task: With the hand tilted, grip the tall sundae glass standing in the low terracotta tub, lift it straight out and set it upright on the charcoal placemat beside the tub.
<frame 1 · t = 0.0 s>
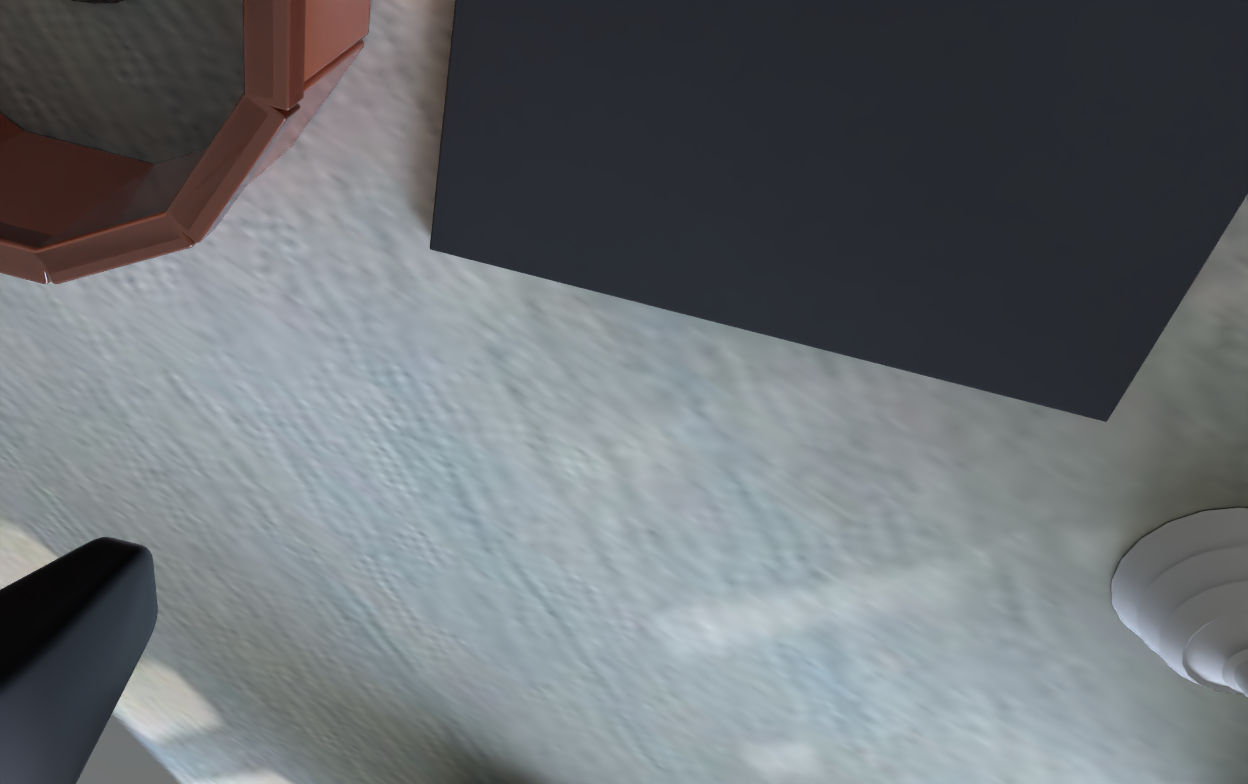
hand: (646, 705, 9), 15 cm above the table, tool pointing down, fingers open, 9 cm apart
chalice: (1215, 578, 26), on the table
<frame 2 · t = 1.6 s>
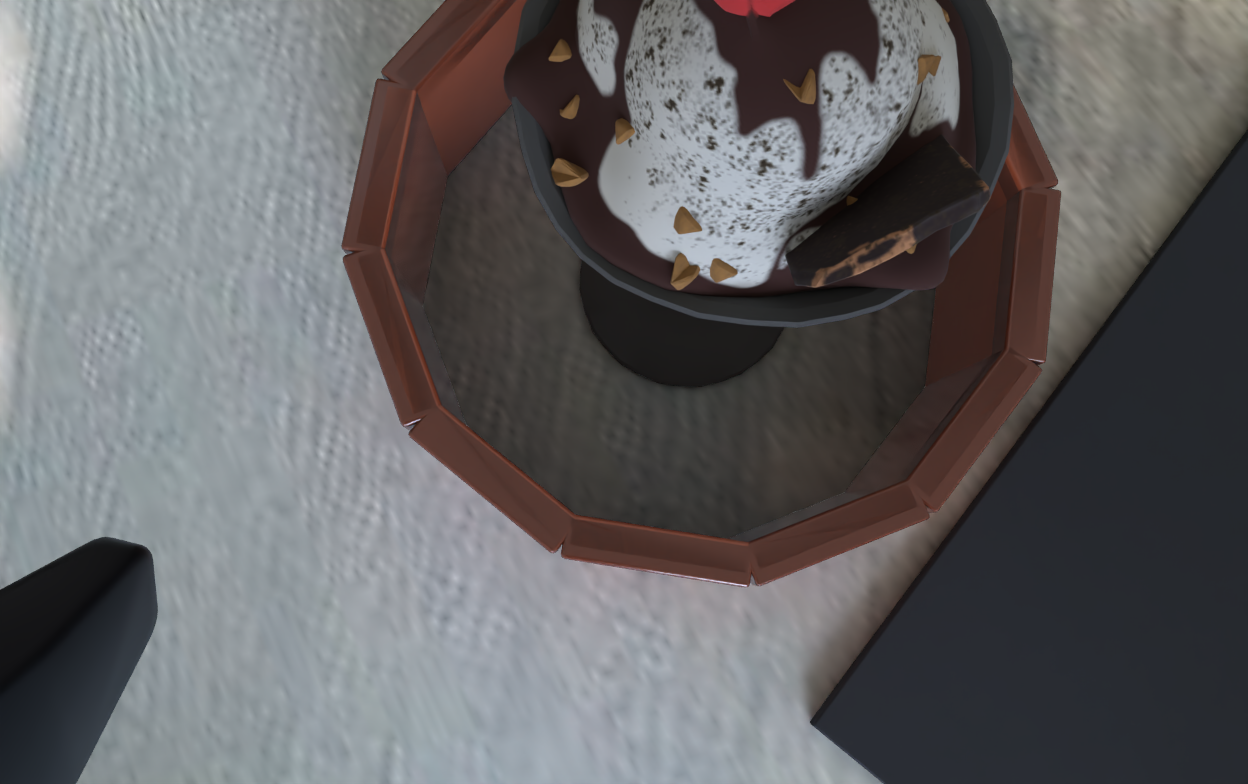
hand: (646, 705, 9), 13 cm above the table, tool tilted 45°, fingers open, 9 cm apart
sundae: (683, 283, 23), resting in serving tub
serving tub: (684, 281, 23), on the table
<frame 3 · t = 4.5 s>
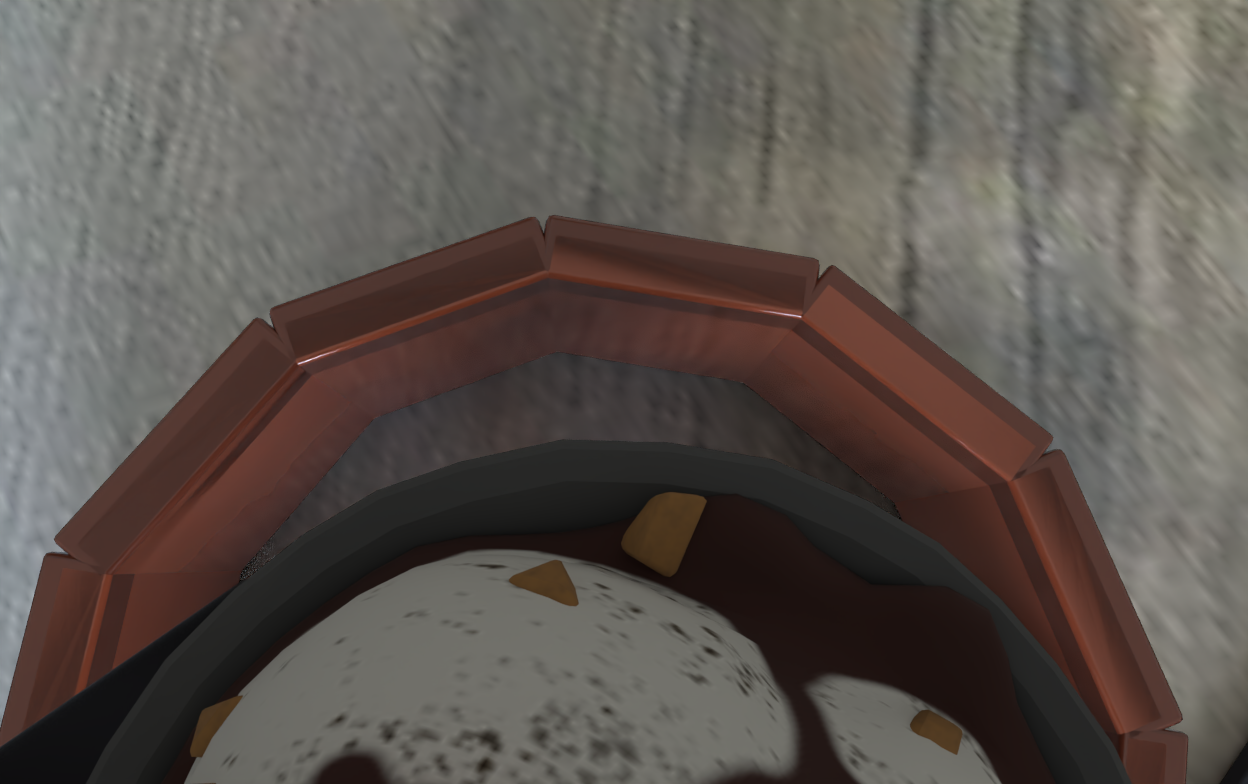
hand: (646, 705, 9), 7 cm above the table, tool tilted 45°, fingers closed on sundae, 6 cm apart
sundae: (592, 727, 16), resting in serving tub, touching gripper
serving tub: (592, 731, 16), on the table
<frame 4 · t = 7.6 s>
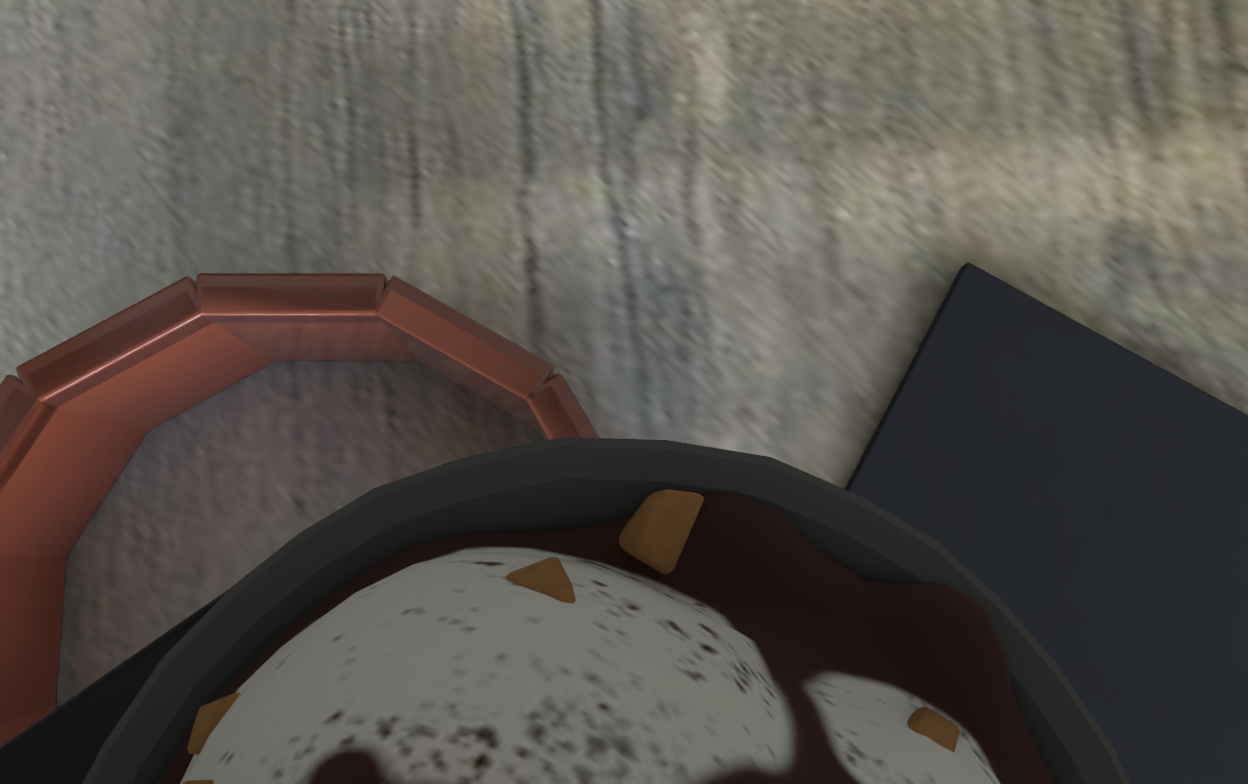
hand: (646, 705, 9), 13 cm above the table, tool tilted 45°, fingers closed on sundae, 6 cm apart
sundae: (592, 726, 16), point 6 cm above the table, touching gripper
serving tub: (338, 626, 22), on the table
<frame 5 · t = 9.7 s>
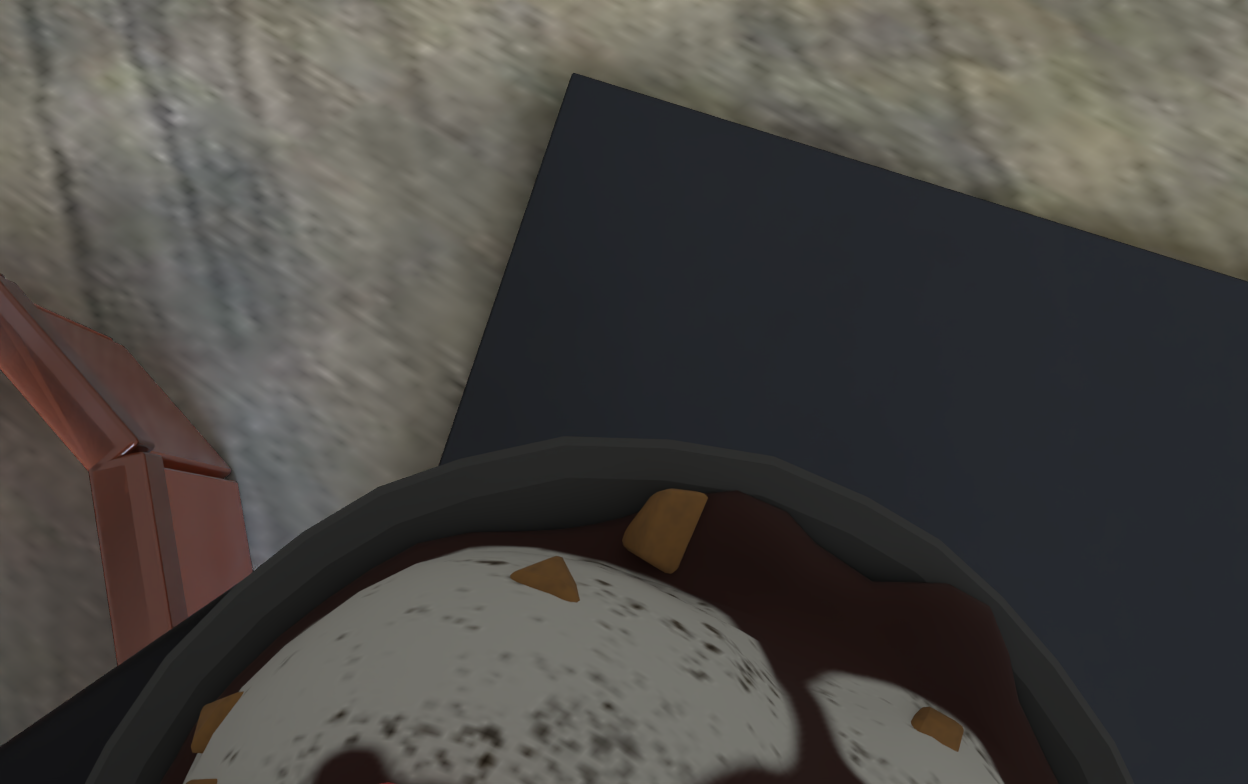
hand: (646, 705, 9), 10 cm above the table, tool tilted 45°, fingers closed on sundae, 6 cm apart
placemat: (824, 699, 18), on the table
sundae: (593, 726, 16), point 2 cm above the table, touching gripper
when the fingers open (8 cm above the table, at t = 10.9 s): sundae stays where it is, resting on placemat.
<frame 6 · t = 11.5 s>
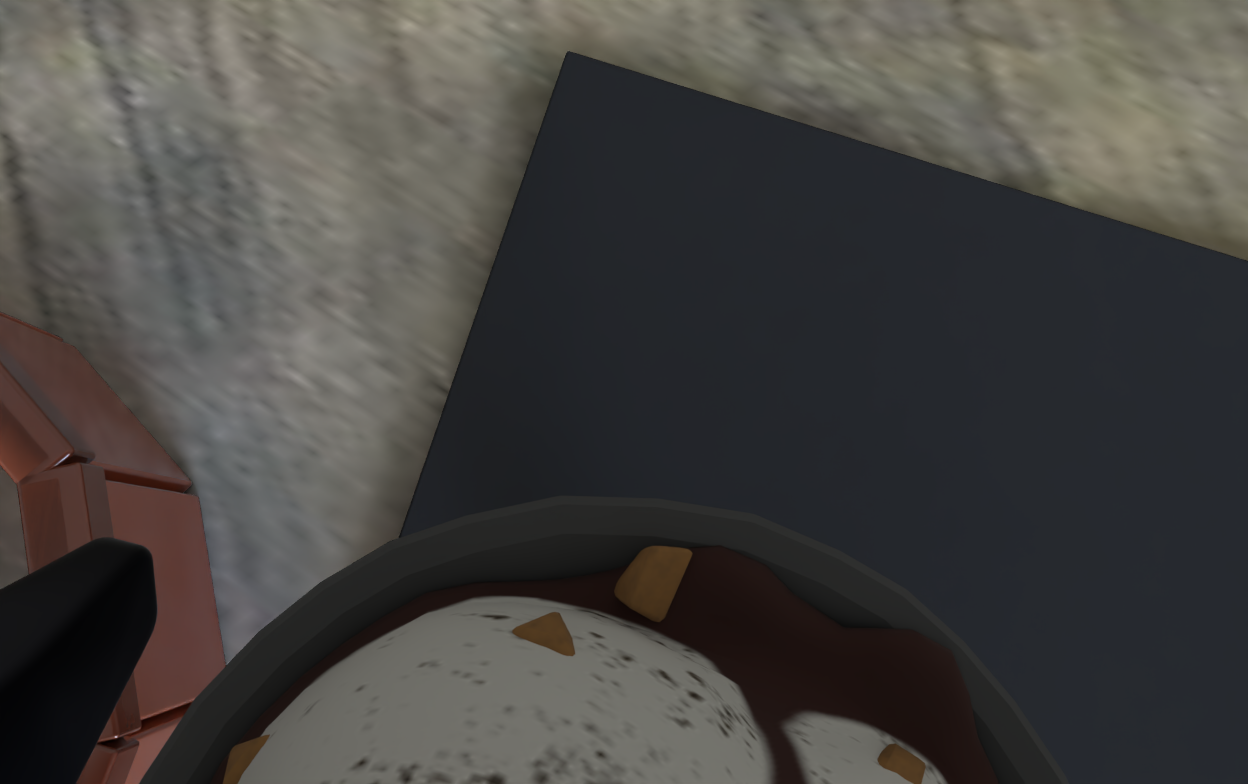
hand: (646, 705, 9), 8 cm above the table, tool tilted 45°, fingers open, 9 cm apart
placemat: (843, 735, 17), on the table
sundae: (588, 741, 16), resting on placemat
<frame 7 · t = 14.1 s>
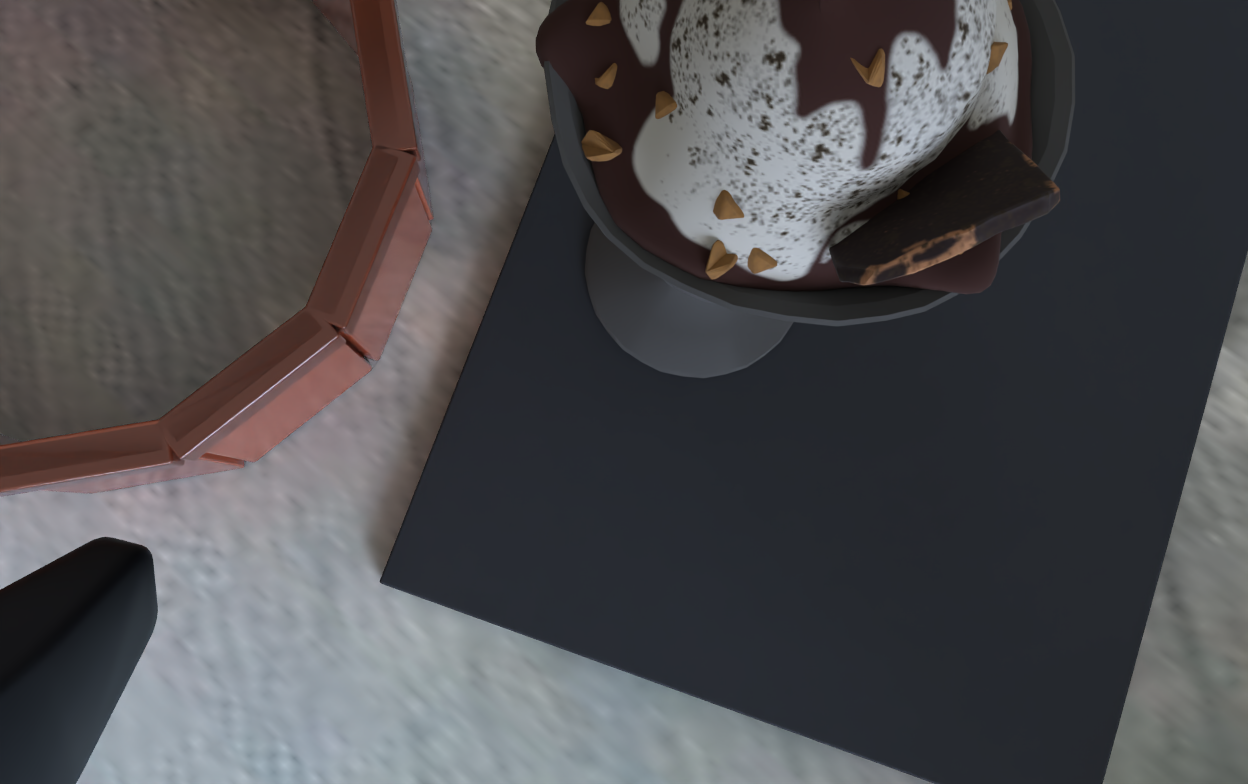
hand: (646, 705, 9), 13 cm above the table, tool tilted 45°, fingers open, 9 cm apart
placemat: (873, 283, 23), on the table
sundae: (692, 270, 23), resting on placemat
serving tub: (132, 193, 22), on the table
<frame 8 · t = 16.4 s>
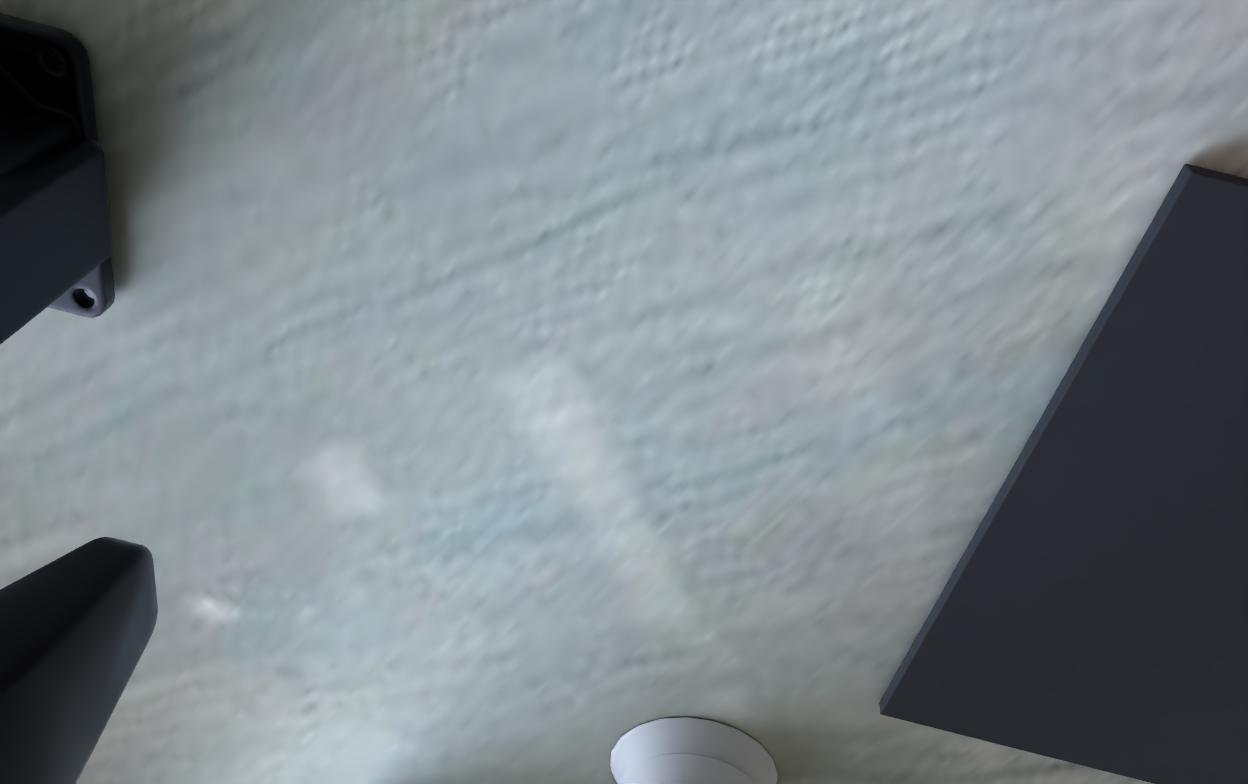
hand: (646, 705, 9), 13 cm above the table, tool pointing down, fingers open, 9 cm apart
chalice: (693, 766, 30), on the table
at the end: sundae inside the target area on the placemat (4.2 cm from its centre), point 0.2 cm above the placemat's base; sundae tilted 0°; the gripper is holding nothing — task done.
